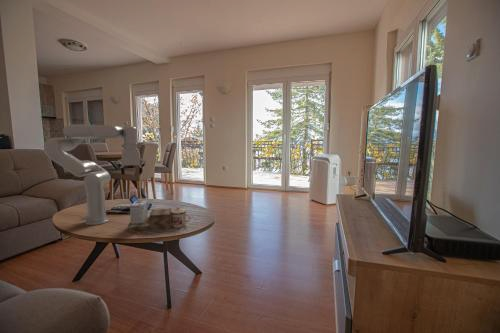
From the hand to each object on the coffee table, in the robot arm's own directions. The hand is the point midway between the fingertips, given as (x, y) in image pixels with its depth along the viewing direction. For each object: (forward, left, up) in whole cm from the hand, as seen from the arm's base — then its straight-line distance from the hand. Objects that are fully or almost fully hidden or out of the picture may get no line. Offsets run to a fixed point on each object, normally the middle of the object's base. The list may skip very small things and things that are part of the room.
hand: (132, 174), depth 146 cm
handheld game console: (-1, +31, -31) cm, 44 cm away
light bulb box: (+6, -13, -26) cm, 30 cm away
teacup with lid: (+29, -14, -31) cm, 44 cm away
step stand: (+12, -15, -30) cm, 36 cm away
